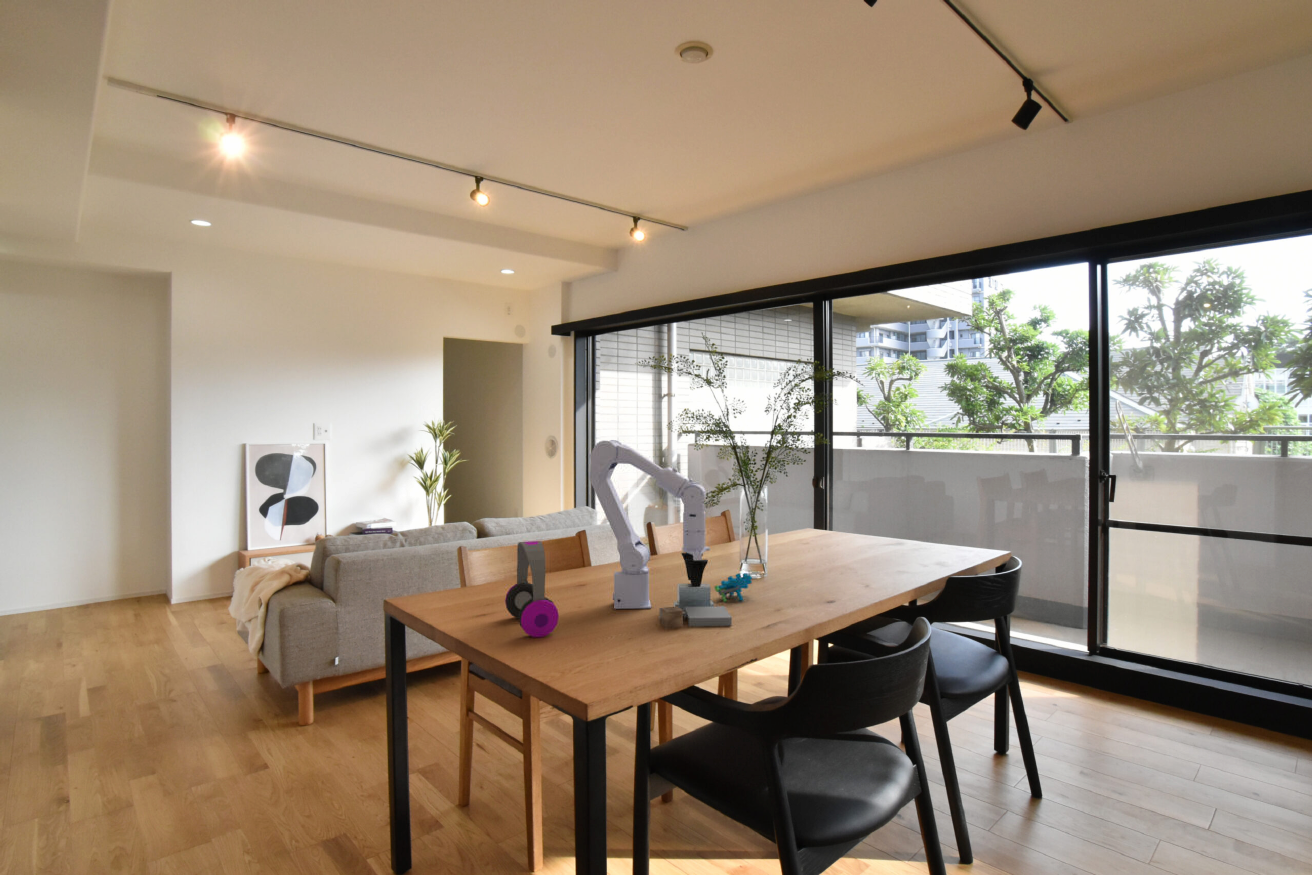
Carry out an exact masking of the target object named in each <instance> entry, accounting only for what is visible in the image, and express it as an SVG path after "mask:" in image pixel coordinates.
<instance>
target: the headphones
mask: <svg viewBox="0 0 1312 875" xmlns="http://www.w3.org/2000/svg"><path fill="white" fill-rule="evenodd" d="M516 557H517V561H516V562H517V563H516V583H515V584H513V585H512V586H511V587H510V588H509V589H508V591H507V593H506V595H505V599H504V602H505V606H506V607H505V608H506V610H507V611H508V612H509V614H510V615H511V616H512V617H514V618H516V619H518V621H519V622H518V623H519V626H520V628H521V629H522V630H523V632H524V633H526V634H527V635H529V636H530V637H532V638H543V637H546V636H548V635H550V633H552V632H553V631H554V630H555V628H556V627H557V626H558V624H559V623H558V622H559V618H560V615H559V610H558V608H557V606H556V604H555V603H554V602H553V601H552V600H551V599H550V598H548V597H546V596H545V595H546V594H545V592H546V553H545V548H544V545H543V542H542V541H541V540H533V541H532V540H531V541H518V543H517V549H516ZM529 568H530V571H531V579H532V580H531V581H532V583H530V582H529V581H528V574H529Z"/></svg>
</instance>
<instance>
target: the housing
mask: <svg viewBox="0 0 1312 875" xmlns="http://www.w3.org/2000/svg"><path fill="white" fill-rule="evenodd" d="M676 606H677V607H678V608H680V609H681V610H683V612H685V607H715V604H714V602H713V600H711V586H710V584H709V583H707V582H706V583H704V582H703V583H702V582H701V586H700V587H692V585H691V582H690V583H677V600H674V601H673V607H676Z"/></svg>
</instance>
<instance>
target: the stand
mask: <svg viewBox="0 0 1312 875" xmlns="http://www.w3.org/2000/svg"><path fill="white" fill-rule="evenodd" d="M684 612H685V618H687V620H688V621H687V624H688V627H727V626H729V627H732V621H733V620H732V618H733V617H732V616H731V615H730V612H729V611H728V610H727V608H726V606H725V605H724V606H714V607H685V611H684Z"/></svg>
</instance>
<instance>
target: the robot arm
mask: <svg viewBox="0 0 1312 875" xmlns="http://www.w3.org/2000/svg"><path fill="white" fill-rule="evenodd" d="M589 456H590V467H589V481H590V484H591V485H592V486H591V487H592V488H593V490H594V493H595V495H596V497H597V498H598V502H599V503H600V505H601V508H602V509H603V512H604V513H603V514H604V515H605V517H606V519H607V522H608V523H609V526H610V527H611V530H612V533H613V534H614V537H615V539H616V544H617V545H616V546H617V547H616V548H617V552H618V554H619V564H620V567H621V571H614V573H613V574H614V575H613V593H612V601H613V609H615V610H616V609H617V610H618V609H620V610H623V609H627V610H628V609H652V605H651V604H652V603H651V601H650V569H649V566H648V565H647V564H648V563H649V562H650V559H651V551H650V548H649V547H648V546H647V545H646V544H644V542H642V540H641V538H640V536H639V535H638V534H637V533H636V532H635V530H634V527H633V525H632V523H631V521H630V519H629V517H628V513H627V512H626V509H625V508H624V505H623V504H622V501H621V499H620V497H619V495H618V492H617V490H616V488H615V486H614V484H613V481H612V479H611V478H612V474H614V471H615V469H616V467H617V465H619V464H621V465H622V464H624V465H625V464H626V465H628V464H629V465H631V466H633V467H635V468H636V469H638V470H640V471H641V472H643V473H645V474H647V475H648V476H650V477H652V478H654V479H655V480H656V484H657V487H659V488H661V489H662V490H664V491H666V492H667V493H669V494H670V495H672V496H673V497H675V498H676V499H680V500H681V502H682V504H683V513H682V548H681V549H682V550H681V551H682V552H681V556H682V559H683V562H684V564H685V570H686V576H687V580H688V581H690V583H691V585H692V587H700V586H701V583H702V580H703V576H704V571H705V569H706V566H707V564H708V561H709V560H708V559H703V558H702V557H703V556H704V553H705V552H707V551H711V548H710V546H706V512H705V510H706V506H705V500H706V499H707V491H706V489H705V487H704V486H703V485H702V484H701V483H699V482H694V479H693V478H691V477H690V478H689V477H686V476H685V475H683V474H681V473H680V472H679V469H678V468H676V467H673V468H672V467H669V466H667V467H665V468H662V467H661V466H659V465H658V464H656V463H655V462H653V460H650V459H649V458H647V457H646V456H644V455H643V454H641V453H640V452H638V451H637V450H636V449H634V448H632V447H631V446H629V445H626V444H622V443H621V442H620V441H618V440H614V439H611V440H600V441H599V442H597V443H596V444H595V445H594V446H593V448H592V451H591V452H590V455H589Z"/></svg>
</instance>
